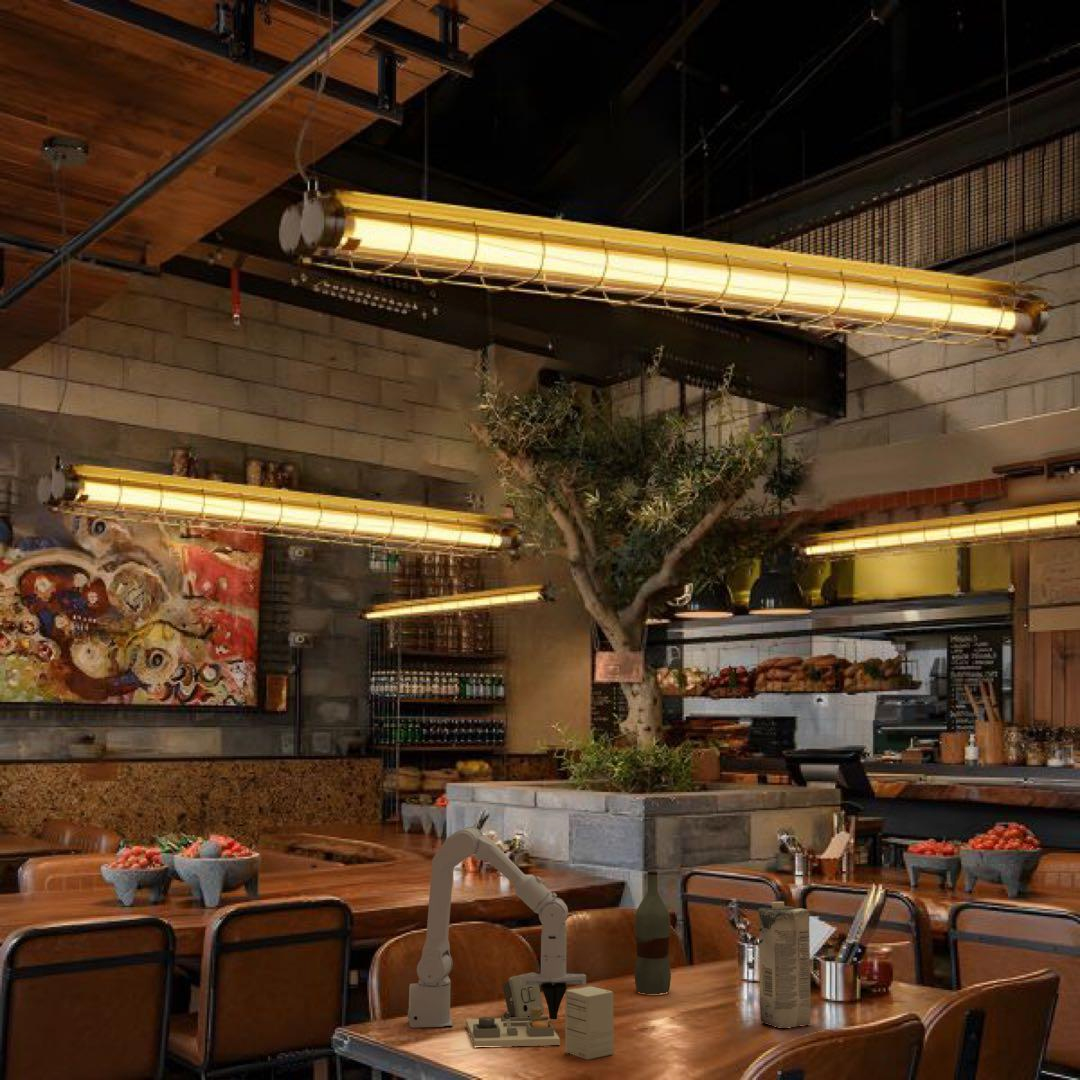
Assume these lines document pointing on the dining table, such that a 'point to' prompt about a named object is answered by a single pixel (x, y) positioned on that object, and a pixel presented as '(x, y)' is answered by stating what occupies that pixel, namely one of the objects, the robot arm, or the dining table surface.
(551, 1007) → the robot arm
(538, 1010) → the brass slider
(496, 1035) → the control panel
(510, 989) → the electrical switch
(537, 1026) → the orange button
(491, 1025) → the black button
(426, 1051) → the dining table surface
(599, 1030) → the supplement box
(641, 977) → the bottle
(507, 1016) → the toggle lever
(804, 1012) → the juice carton
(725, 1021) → the dining table surface
